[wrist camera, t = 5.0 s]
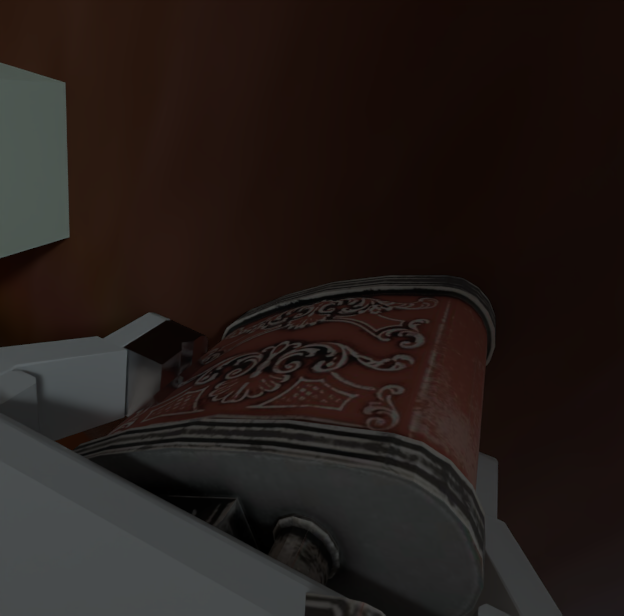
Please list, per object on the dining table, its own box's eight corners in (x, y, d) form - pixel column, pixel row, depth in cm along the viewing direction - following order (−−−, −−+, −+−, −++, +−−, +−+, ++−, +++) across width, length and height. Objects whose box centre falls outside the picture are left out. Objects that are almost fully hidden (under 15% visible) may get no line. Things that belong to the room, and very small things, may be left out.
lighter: (254, 394, 16) (-40, 732, 7) (220, 303, 15) (-164, 569, 6) (506, 374, 12) (507, 978, 4) (482, 253, 11) (412, 693, 3)
